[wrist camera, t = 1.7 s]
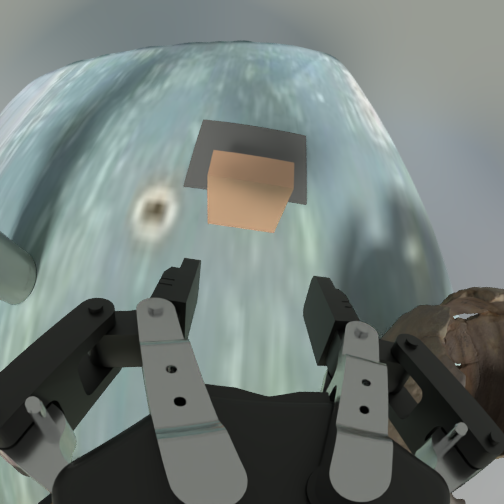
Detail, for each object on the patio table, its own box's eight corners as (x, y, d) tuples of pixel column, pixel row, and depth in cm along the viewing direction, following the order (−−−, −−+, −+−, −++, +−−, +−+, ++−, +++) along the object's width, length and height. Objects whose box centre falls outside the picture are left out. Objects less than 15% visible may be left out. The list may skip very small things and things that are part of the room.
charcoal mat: (183, 186, 45) (183, 185, 44) (203, 120, 51) (203, 119, 51) (306, 204, 46) (306, 203, 46) (305, 136, 52) (305, 135, 52)
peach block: (207, 223, 43) (207, 175, 32) (212, 200, 44) (213, 149, 33) (273, 233, 44) (293, 188, 33) (275, 209, 45) (294, 162, 34)
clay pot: (333, 303, 41) (453, 228, 18) (446, 338, 41) (561, 302, 18) (286, 459, 31) (376, 552, 8) (414, 467, 31) (527, 495, 8)
